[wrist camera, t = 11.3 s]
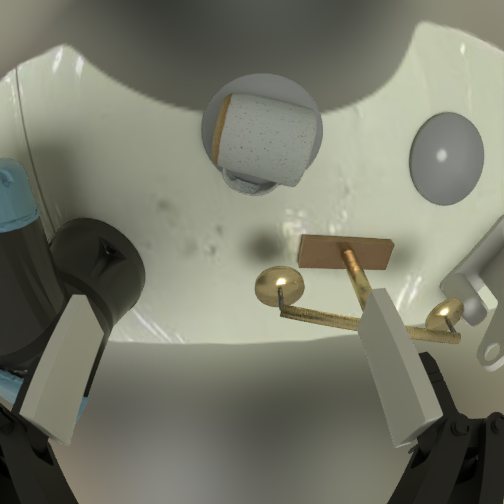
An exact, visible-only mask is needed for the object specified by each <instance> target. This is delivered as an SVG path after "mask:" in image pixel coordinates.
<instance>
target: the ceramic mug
mask: <svg viewBox="0 0 504 504" xmlns="http://www.w3.org/2000/svg"><path fill="white" fill-rule="evenodd" d="M316 123H317V116H316V112H315V110H313V109H312V108H308V107H304V106H300V105H297V104H293V103H289V102H284V101H280V100H276V99H271V98H266V97H262V96H257V95H252V94H246V93H232V94H229V95H228V96H226V97H225V99H224V100H223V102H222V105H221V108H220V111H219V114H218V117H217V121H216V126H215V130H214V134H213V140H212V147H211V158H212V160H213V162H214V163H215V164H216V165H218V166H221V167H223V168H222V171H223V177H224V180H225V182H226V183H227V184H228V185H229V186H230V187H231V188H232V189H234V190H236V191H238V192H240V193H243V194H246V195H252V196H260V195H264V194H267V193H269V192H271V191H272V190H274V189H275V188H276V187H277V186H278V185H279V184H282V185H285V186H290V187H294V186H296V185H297V184H298V183H299V181H300V179H301V177H302V176H303V174H304V172H305V169H306V166H307V164H308V161H309V158H310V155H311V151H312V147H313V144H314V139H315V135H316ZM230 170H231V171H235V172H239V173H244V174H248V175H252V176H255V177H259V178H262V179H265V180H269V181H270V182H268V183H265V184H252V183H249V182H246V181H243V180H241V179H239V178H235V177H234V176H233V175H232V174H231V172H230Z"/></svg>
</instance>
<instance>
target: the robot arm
mask: <svg viewBox="0 0 504 504" xmlns="http://www.w3.org/2000/svg"><path fill="white" fill-rule="evenodd" d="M39 215H40V209H39V206H38V205H37V203H36V202H35V200H34V197H33V193H32V190H31V187H30V183H29V180H28V176H27V173H26V171H25V169H24V168H23V166H22V165H21V164H20V163H18V162H17V161H15V160H12V159H6V158H1V159H0V396H1V397H3V398H4V399H6V400H7V401H9V402H11V403H12V404H14V405H13V408H12V410H11V412H10V411H9V410H8V409H7V408H5V407H4V406H3V405H2V404H1V403H0V504H78V502H77V500H76V498H75V496H74V494H73V493H72V491H71V489H70V487H69V485H68V483H67V481H66V479H65V477H64V475H63V473H62V471H61V469H60V466H59V464H58V462H57V459H56V458H55V455H54V452H53V450H52V447H51V445H50V444H49V442H48V438H50V439H52V440H53V441H55V442H56V443H59V444H62V445H66V446H70V442H71V437H72V434H73V430H74V426H75V423H76V422H77V421H78V420H79V418H80V416H81V414H82V412H83V409H84V407H85V405H86V403H87V402H88V399H89V398H87V397H88V394H89V391H90V388H91V385H92V382H93V379H94V376H95V373H96V371H97V368H98V365H99V362H100V360H101V357H102V354H103V351H104V349H105V346H106V343H107V341H108V338H109V336H110V333H111V331H112V328H113V326H114V325H115V324H116V323H117V322H118V321H119V320H120V319H121V318H122V317H123V316H124V315H125V313H126V312H127V311H129V310H130V309H131V308H132V307H133V306H134V305H135V304H136V302H137V301H138V299H139V297H140V295H141V292H142V290H143V287H144V283H145V270H144V266H143V263H142V260H141V258H140V256H139V254H138V252H137V251H136V249H135V248H134V246H133V245H132V244H131V243H130V241H129V240H128V239H127V238H126V237H125V236H124V235H122V234H121V233H120V232H119V231H117V230H116V229H114V228H113V227H111V226H109V225H107V224H105V223H103V222H100V221H97V220H93V219H75V220H72V221H70V222H68V223H66V224H64V225H63V226H62V227H61V228H60V229H59V230H58V231H57V232H56V234H55V235H54V236H53V237H52V239H51V241H50V243H49V244H48V241H47V238H46V235H45V232H44V229H43V226H42V223H41V220H40V216H39ZM357 331H358V334H359V337H360V339H361V342H362V345H363V348H364V351H365V354H366V357H367V360H368V362H369V365H370V368H371V371H372V374H373V378H374V380H375V384H376V387H377V390H378V393H379V396H380V400H381V403H382V406H383V409H384V412H385V416H386V420H387V423H388V427H389V430H390V434H391V437H392V441H393V445H394V448H396V447H400V446H403V445H406V444H409V443H411V442H412V441H414V440H415V439H416V438H417V440H418V444H416V445H415V446H414V447H413V448H411V449H410V451H409V452H408V453H409V454H410V453H412V452H413V451H414V452H413V454H412V457H411V459H410V461H409V463H408V465H407V467H406V469H405V471H404V473H403V476H402V477H401V480H400V481H399V483H398V485H397V487H396V489H395V491H394V493H393V494H392V496H391V498H390V500H389V501H388V503H387V504H503V499H504V415H503V414H502V413H499V412H494V413H492V414H491V415H489V416H488V417H487V418H483V419H468V417H467V416H465V415H463V414H460V413H459V412H458V411H457V409H456V407H455V405H454V402H453V400H452V397H451V395H450V392H449V390H448V388H447V385H446V383H445V381H444V380H443V376H442V374H441V373H440V370H439V367H438V365H437V363H436V361H435V360H434V359H433V357H432V356H431V355H430V354H429V353H428V352H424V353H419V354H418V353H417V351H416V349H415V347H414V345H413V342H412V340H411V338H410V336H409V334H408V332H407V330H406V328H405V326H404V324H403V322H402V320H401V318H400V316H399V314H398V312H397V310H396V308H395V306H394V304H393V302H392V300H391V298H390V296H389V294H388V293H387V291H386V289H385V288H381V289H371V290H370V293H369V296H368V299H367V302H366V305H365V308H364V311H363V314H362V317H361V320H360V323H359V325H358V328H357Z"/></svg>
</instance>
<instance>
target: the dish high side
mask: <svg viewBox="0 0 504 504" xmlns="http://www.w3.org/2000/svg"><path fill="white" fill-rule="evenodd" d="M483 164H484V147H483V142H482V139H481V136H480V134H479V132H478V130H477V128H476V127H475V126H474V124H473V123H472V122H471V121H469V120H468V119H467V118H465V117H463V116H461V115H458V114H454V113H441V114H438V115H436V116H434V117H432V118H430V119H429V120H428V121H427V122H426V123H425V124H424V125H423V126H422V127H421V128H420V130H419V131H418V133H417V135H416V137H415V139H414V142H413V144H412V148H411V153H410V172H411V177H412V180H413V183H414V185H415V187H416V188H417V190H418V191H419V192H420V194H421V195H422V196H424V197H425V198H426V199H427V200H428V201H430V202H431V203H434V204H436V205H442V206H446V205H452V204H455V203H457V202H459V201H461V200H463V199H464V198H465V197H466V196H467V195H469V194H470V192H471V191H472V190H473V189H474V187H475V186H476V184H477V182H478V180H479V178H480V176H481V173H482V169H483Z"/></svg>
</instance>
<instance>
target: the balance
mask: <svg viewBox="0 0 504 504" xmlns="http://www.w3.org/2000/svg"><path fill="white" fill-rule="evenodd" d="M393 247H394V244H393V242H392V241H391V240H389V239H373V238H356V237H338V236H319V235H302V239H301V246H300V252H299V258H298V265H299V268H326V269H346V270H347V273H348V275H349V278H350V280H351V283H352V285H353V288H354V290H355V293H356V295H357V298H358V301H359V303H360V306H361V308H362V311H364V308H365V305H366V302H367V299H368V296H369V293H370V290H371V289H372V288H371V286H370V284H369V282H368V280H367V277H366V275H365V273H364V271H363V269H366V270H386V267H387V264H388V261H389V259H390V256H391V253H392V250H393ZM304 288H305V287H304V281H303V278H302V276H301V274H300V273H299V272H298V271H296V270H295V269H293V268H290V267H286V266H276V267H272V268H269V269H267V270H265V271H263V272H262V273H261V274H260V275H259V276H258V277H257V279H256V282H255V294H256V296H257V298H258V299H259V300H260V301H261V302H262V303H264V304H265V305H268V306H271V307H279V309H280V310H281V313H280V317H284V318H289V319H294V320H299V321H304V322H309V323H314V324H320V325H325V326H331V327H337V328H342V329H348V330H354V331H357V328H358V325H359V323H360V320H361V319H360V318H354V317H348V316H343V315H337V314H331V313H326V312H321V311H315V310H310V309H305V308H300V307H294V306H289V305H291V304H293V303H295V302H296V301H297V300H299V299H300V297H301V296H302V295H303V292H304ZM463 313H464V305H463V303H462V302H461V300H460V299H458V298H451V299H447V300H445V301H443V302H442V303H440V304H439V305H437V306H436V307H435V308H434V309H433V310H432V311H431V312H430V314H429V315H428V317H427V319H426V322H425V325H426V328H427V329H425V328H417V327H411V326H405V328H406V330H407V332H408V334H409V336H410V338H411V339H415V340H423V341H431V342H440V343H449V344H458V343H459V342H460V339H461V335H460V333H457V332H456V331H455V329H454V327H453V326H454V325H455V324H456V323H457V322H458V321H459V320H460V318H461V317H462V315H463ZM448 329H450V331H451V332H447V330H448Z"/></svg>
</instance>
